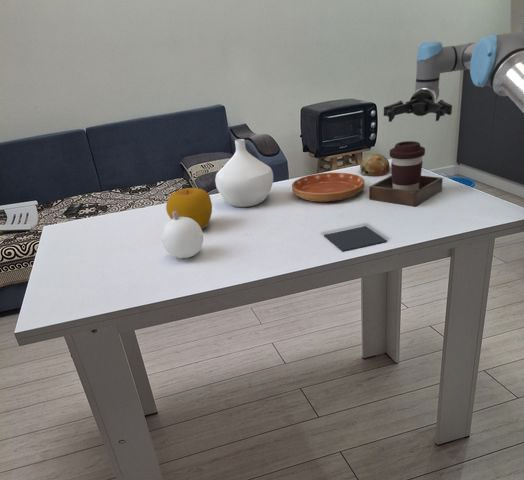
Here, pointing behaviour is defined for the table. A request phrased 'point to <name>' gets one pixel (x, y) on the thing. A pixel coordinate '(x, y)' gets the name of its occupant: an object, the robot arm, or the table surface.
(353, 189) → the saucer
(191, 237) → the ornament
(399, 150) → the coffee cup
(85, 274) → the table surface
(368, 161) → the bread roll
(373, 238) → the mat
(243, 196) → the vase
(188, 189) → the apple
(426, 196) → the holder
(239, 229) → the table surface
